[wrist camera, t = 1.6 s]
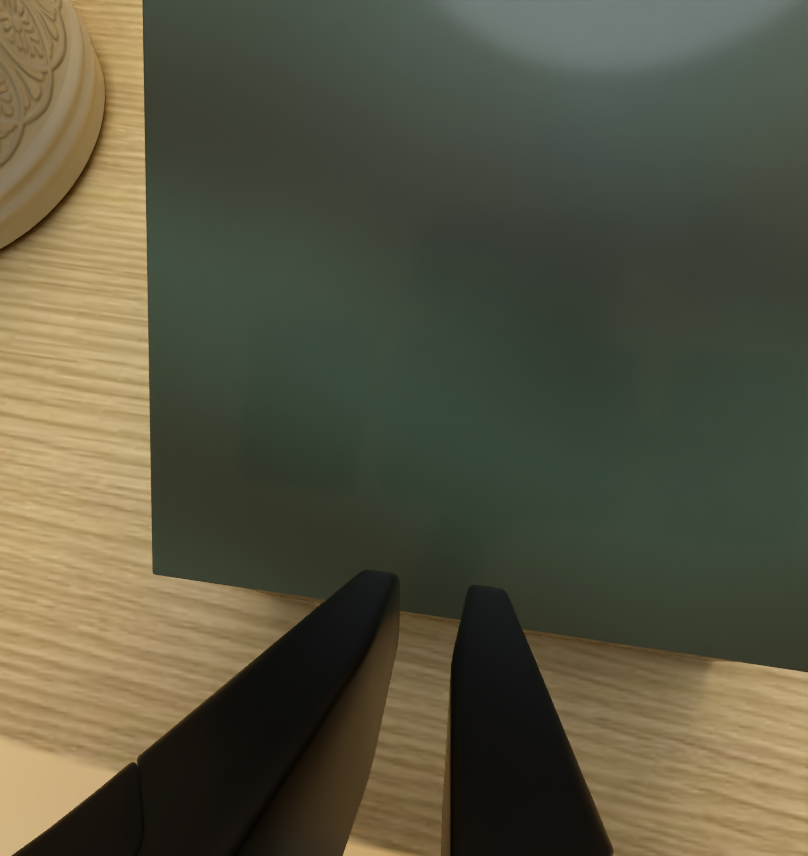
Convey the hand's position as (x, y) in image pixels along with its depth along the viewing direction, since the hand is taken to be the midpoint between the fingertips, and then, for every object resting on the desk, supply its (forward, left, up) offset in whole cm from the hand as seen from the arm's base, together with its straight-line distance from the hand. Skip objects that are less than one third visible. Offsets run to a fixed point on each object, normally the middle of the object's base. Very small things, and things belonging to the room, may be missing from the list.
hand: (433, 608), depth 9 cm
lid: (+7, 0, -3) cm, 8 cm away
